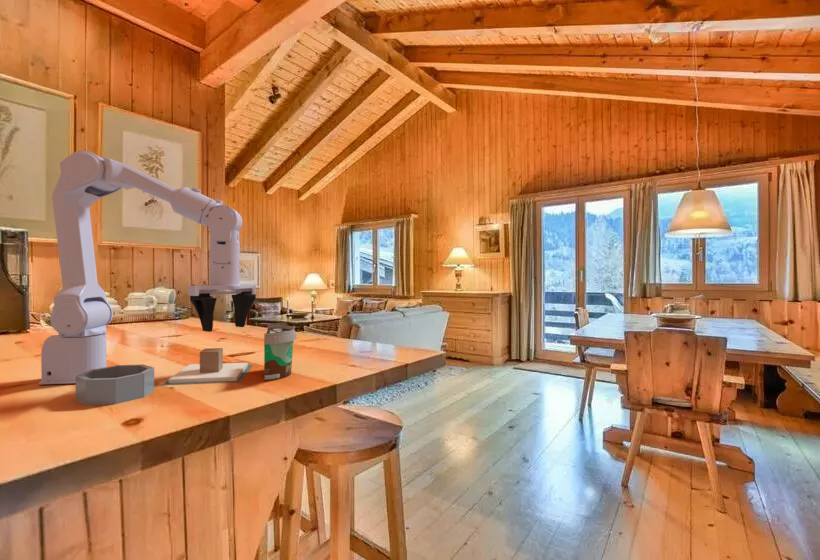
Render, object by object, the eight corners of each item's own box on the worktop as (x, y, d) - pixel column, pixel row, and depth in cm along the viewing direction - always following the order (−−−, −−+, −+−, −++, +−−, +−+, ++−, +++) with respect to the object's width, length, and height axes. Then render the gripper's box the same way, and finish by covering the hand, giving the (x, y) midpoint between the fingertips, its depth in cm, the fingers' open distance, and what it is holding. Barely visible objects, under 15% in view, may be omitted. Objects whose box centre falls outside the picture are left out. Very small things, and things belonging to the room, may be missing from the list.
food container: (297, 383, 79) (297, 332, 79) (263, 385, 77) (264, 333, 77) (296, 368, 91) (296, 324, 91) (267, 370, 89) (267, 325, 89)
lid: (168, 383, 76) (168, 357, 76) (189, 368, 88) (189, 345, 88) (236, 380, 79) (236, 355, 78) (247, 366, 90) (247, 343, 90)
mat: (160, 387, 75) (160, 385, 75) (185, 369, 89) (185, 367, 89) (240, 384, 78) (240, 381, 78) (253, 367, 92) (253, 364, 92)
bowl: (64, 409, 63) (64, 380, 63) (99, 390, 73) (99, 365, 73) (136, 405, 65) (136, 378, 65) (160, 387, 75) (160, 363, 75)
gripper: (204, 263, 76) (203, 335, 76) (265, 264, 89) (265, 326, 89) (181, 263, 79) (181, 331, 80) (244, 264, 92) (243, 323, 92)
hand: (224, 328), depth 85 cm, fingers open, 7 cm apart
